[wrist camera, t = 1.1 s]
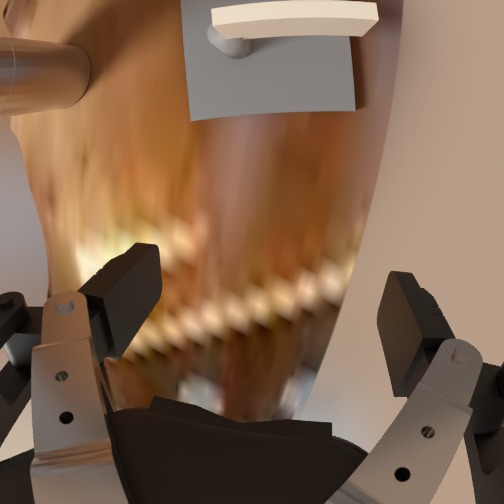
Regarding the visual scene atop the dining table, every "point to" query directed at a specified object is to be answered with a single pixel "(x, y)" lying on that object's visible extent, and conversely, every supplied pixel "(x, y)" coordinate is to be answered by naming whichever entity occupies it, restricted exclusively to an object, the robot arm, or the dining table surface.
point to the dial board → (263, 70)
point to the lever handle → (286, 22)
